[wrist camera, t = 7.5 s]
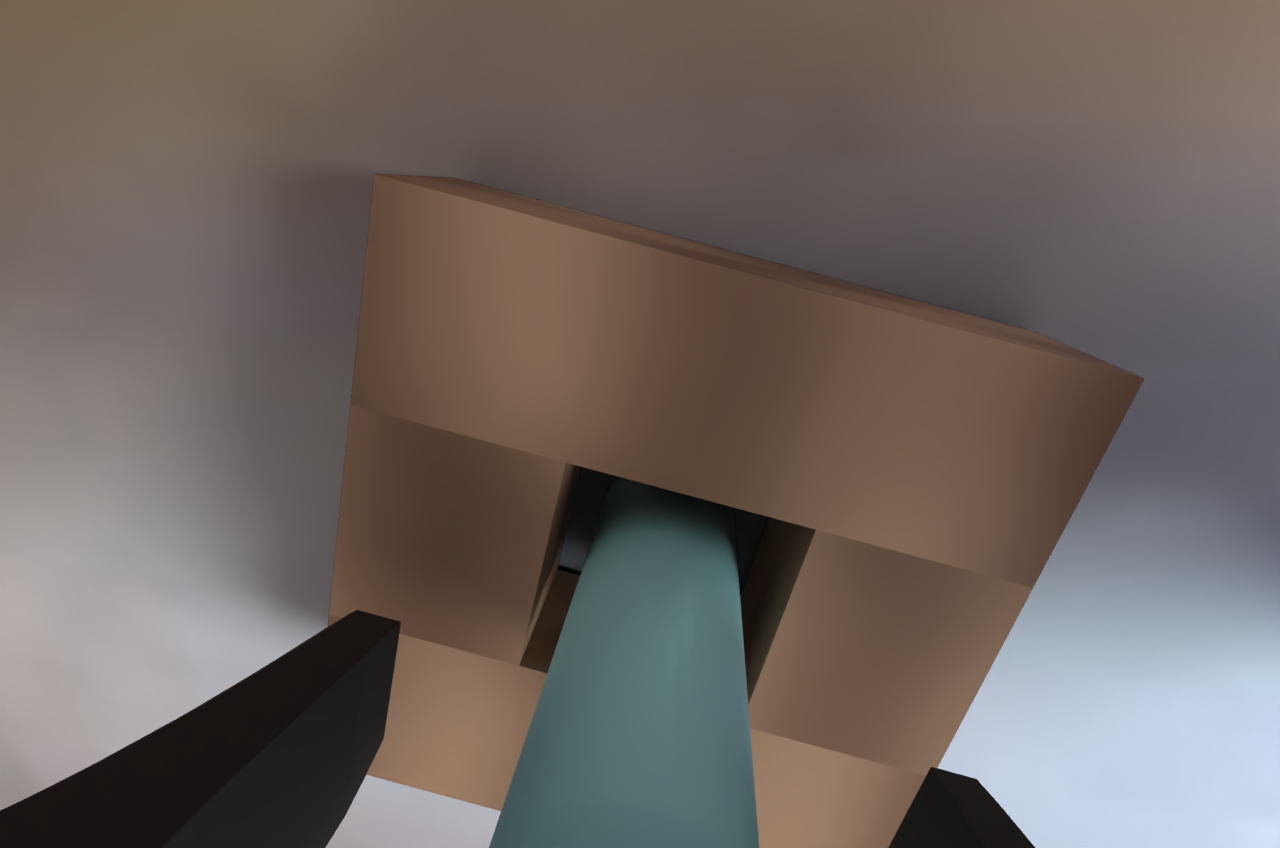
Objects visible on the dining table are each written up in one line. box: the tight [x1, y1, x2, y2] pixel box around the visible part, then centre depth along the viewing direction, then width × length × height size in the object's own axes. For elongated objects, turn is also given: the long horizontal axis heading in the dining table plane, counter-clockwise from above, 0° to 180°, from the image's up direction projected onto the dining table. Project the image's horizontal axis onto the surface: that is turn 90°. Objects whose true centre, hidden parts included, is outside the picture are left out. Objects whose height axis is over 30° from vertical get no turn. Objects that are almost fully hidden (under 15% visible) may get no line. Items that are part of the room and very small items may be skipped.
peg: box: [489, 477, 759, 848], centre depth 11 cm, size 3×3×9 cm
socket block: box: [328, 174, 1144, 848], centre depth 14 cm, size 12×12×4 cm
